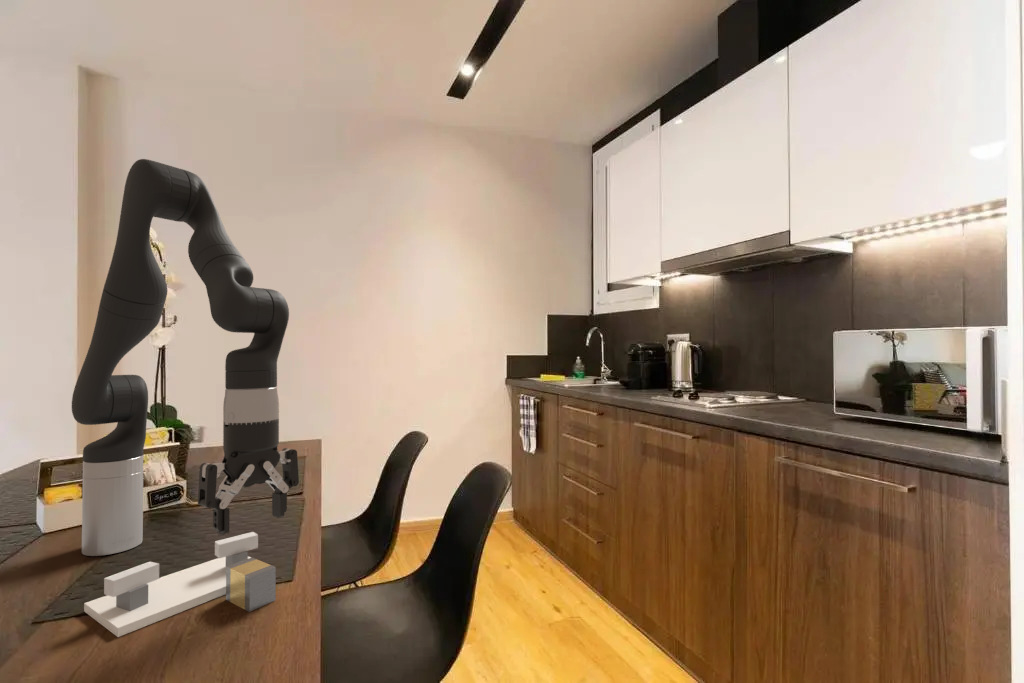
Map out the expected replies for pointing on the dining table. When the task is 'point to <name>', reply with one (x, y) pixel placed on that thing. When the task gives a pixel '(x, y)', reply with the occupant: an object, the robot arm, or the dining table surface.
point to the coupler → (250, 584)
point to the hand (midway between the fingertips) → (251, 524)
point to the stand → (165, 588)
